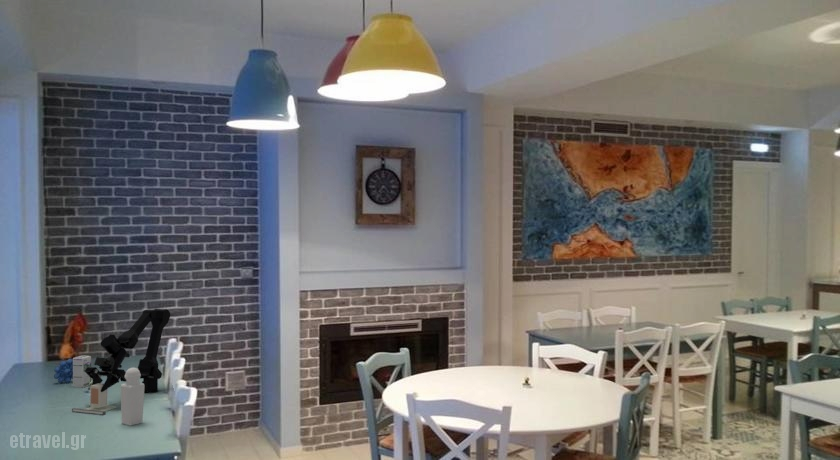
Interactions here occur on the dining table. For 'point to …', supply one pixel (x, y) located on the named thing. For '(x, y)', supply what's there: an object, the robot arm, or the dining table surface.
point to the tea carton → (97, 396)
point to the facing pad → (102, 408)
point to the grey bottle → (132, 398)
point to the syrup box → (81, 371)
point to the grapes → (64, 371)
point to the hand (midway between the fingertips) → (96, 391)
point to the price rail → (89, 411)
